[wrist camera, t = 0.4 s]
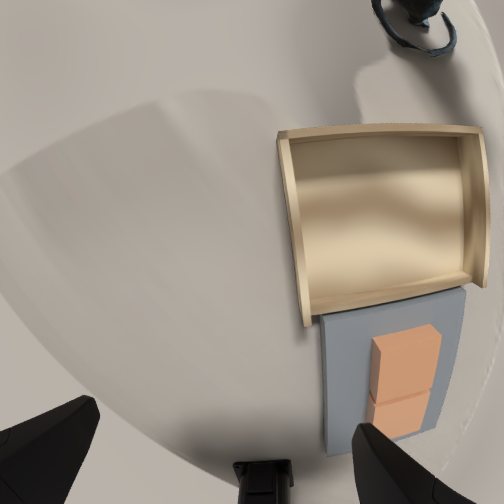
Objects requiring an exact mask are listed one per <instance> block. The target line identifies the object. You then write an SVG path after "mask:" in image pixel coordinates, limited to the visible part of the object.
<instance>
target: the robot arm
mask: <svg viewBox="0 0 504 504" xmlns="http://www.w3.org/2000/svg"><path fill="white" fill-rule="evenodd" d="M99 419H100V412H99V410H98V407H97V404H96V401H95V399H94V398H93V397H90V396H87V395H82V396H80V397H78V398H76V399H74V400H71V401H69V402H67V403H65V404H63V405H61V406H58V407H56V408H54V409H52V410H50V411H47V412H45V413H43V414H41V415H38V416H36V417H34V418H32V419H29V420H27V421H24V422H22V423H20V424H17V425H15V426H13V427H12V428H8V429H5V430H3V431H0V504H64V502H65V500H66V497H67V496H68V493H69V491H70V489H71V487H72V484H73V482H74V480H75V478H76V476H77V474H78V471H79V469H80V467H81V465H82V463H83V461H84V459H85V457H86V455H87V453H88V450H89V448H90V445H91V442H92V439H93V436H94V434H95V430H96V428H97V425H98V422H99ZM351 445H352V455H353V465H354V475H355V483H356V487H357V492H358V496H359V501H360V504H476V503H474V502H473V501H471V500H469V499H467V498H466V497H464V496H462V495H461V494H459V493H457V492H456V491H454V490H452V489H451V488H450V487H448V486H447V485H446V484H444V483H443V482H442V481H440V480H439V479H438V478H435V476H434V475H433V474H431V473H430V472H429V471H428V470H426V469H425V468H424V467H423V466H421V465H420V464H419V463H418V462H417V461H415V460H414V459H413V458H412V457H410V456H409V455H408V454H407V453H406V452H404V451H403V450H402V449H401V448H400V447H399V446H397V445H396V444H395V443H394V442H393V441H391V440H390V439H389V438H388V437H387V436H386V435H384V434H383V433H382V432H381V431H380V430H379V429H377V428H376V427H375V426H374V425H373V424H372V423H370V422H366V423H359V424H358V425H357V427H356V430H355V432H354V435H353V437H352V442H351ZM233 468H234V471H235V473H236V476H237V478H238V480H239V483H240V486H239V496H238V504H290V487H293V486H294V481H293V474H292V467H291V461H290V460H277V461H263V462H237V463H234V464H233Z"/></svg>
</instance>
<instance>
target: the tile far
mask: <svg viewBox="0 0 504 504" xmlns="http://www.w3.org/2000/svg"><path fill="white" fill-rule="evenodd" d="M430 393H431V392H430V390H429V389H426V390H423V391H420V392H416V393H413V394H410V395H407V396H403V397H400V398H396V399H392V400H389V401H385V402H381V403H377V404H376V403H375V401H374V398H373V396H372V394H371V392H369V396H368V405H367V414H366V422H370V423H372V424H373V425H374V426H375V427H376V428H377V429H379V430H380V431H381V432H382V433H383V434H384V435H386V436H387V437H388V438H389V439H392V438H396V437H399V436H402V435H406V434H409V433H412V432H415V431H418V430H420V427H421V424H422V421H423V418H424V414H425V411H426V407H427V404H428V400H429V396H430ZM366 422H365V423H366Z"/></svg>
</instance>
